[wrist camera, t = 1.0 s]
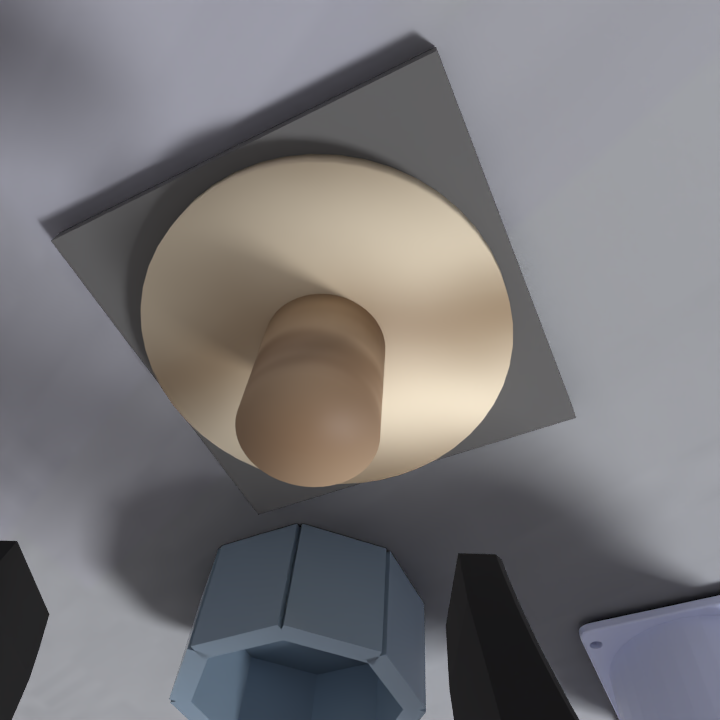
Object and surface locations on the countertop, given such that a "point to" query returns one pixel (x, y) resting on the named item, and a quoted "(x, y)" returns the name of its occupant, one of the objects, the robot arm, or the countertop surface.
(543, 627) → the countertop surface
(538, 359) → the mat
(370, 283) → the lid
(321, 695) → the bowl
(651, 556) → the countertop surface
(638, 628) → the robot arm
